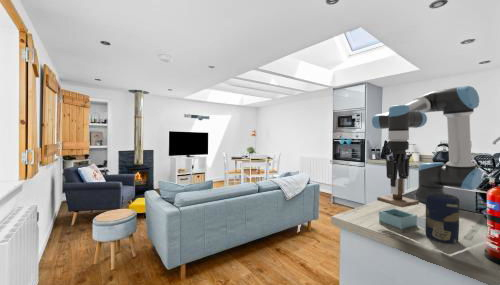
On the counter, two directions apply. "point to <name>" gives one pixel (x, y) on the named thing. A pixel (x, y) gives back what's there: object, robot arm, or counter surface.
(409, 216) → the dish
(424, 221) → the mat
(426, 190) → the robot arm
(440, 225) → the canister
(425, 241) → the counter surface
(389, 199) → the lid
